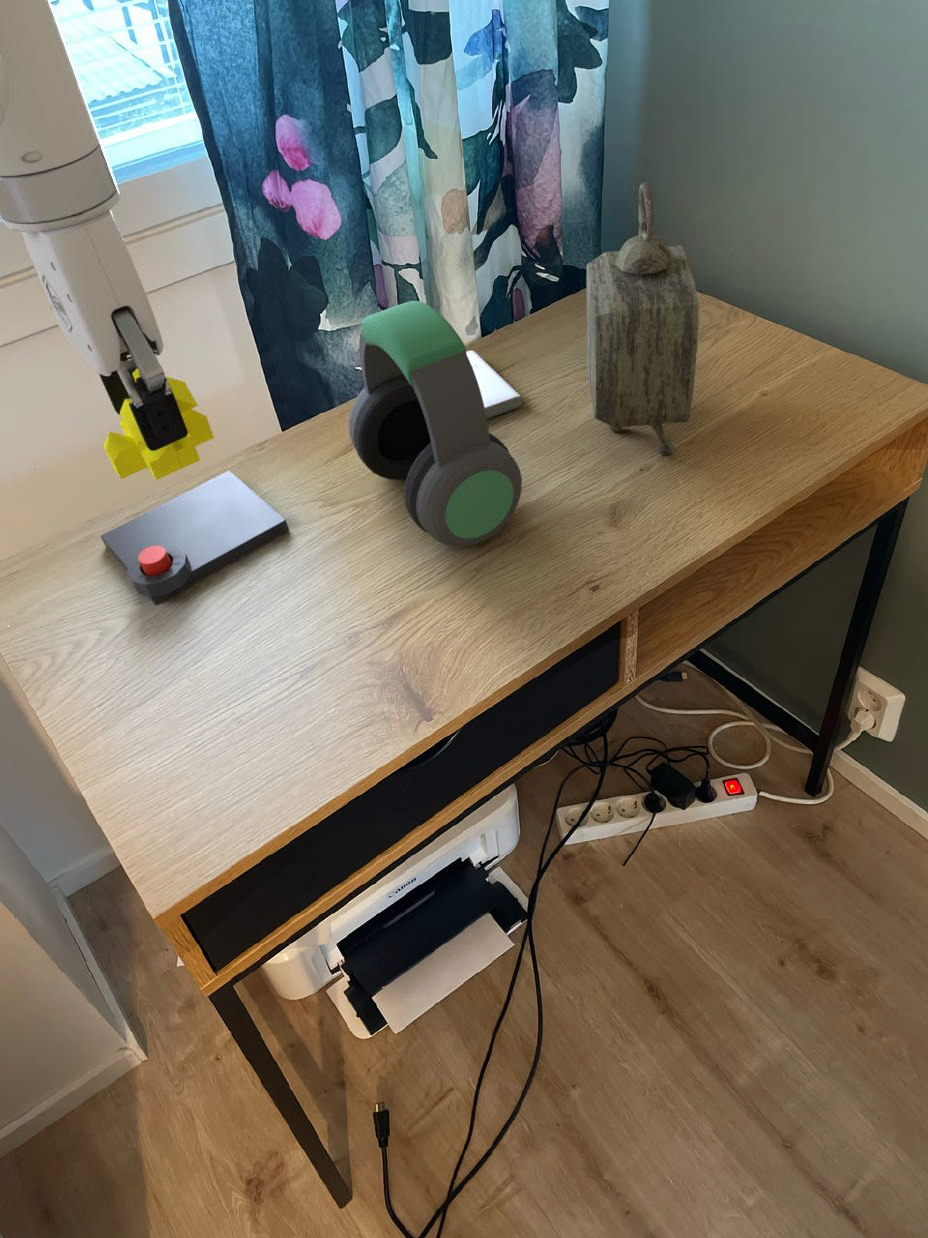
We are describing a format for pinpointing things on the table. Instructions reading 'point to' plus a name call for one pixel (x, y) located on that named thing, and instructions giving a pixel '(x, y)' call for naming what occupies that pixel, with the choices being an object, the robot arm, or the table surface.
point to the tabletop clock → (642, 331)
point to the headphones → (431, 426)
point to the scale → (195, 534)
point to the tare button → (154, 560)
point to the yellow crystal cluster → (136, 456)
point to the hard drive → (493, 388)
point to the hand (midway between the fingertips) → (151, 422)
